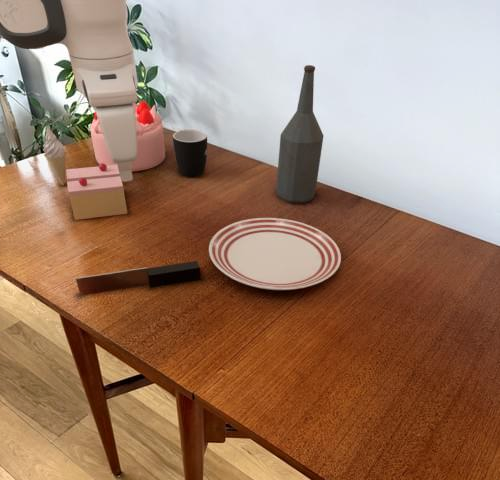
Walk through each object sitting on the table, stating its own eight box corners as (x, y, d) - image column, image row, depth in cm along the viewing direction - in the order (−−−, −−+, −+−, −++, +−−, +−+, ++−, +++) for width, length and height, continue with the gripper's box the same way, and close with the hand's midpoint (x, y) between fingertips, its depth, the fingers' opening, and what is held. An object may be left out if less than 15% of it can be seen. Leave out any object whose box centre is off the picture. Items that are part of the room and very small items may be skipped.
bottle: (281, 183, 125) (292, 58, 105) (317, 189, 123) (335, 62, 103) (272, 201, 118) (282, 69, 97) (310, 207, 116) (328, 74, 96)
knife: (80, 299, 87) (76, 282, 84) (80, 291, 88) (75, 274, 86) (200, 279, 92) (199, 263, 90) (197, 272, 94) (196, 256, 91)
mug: (211, 178, 126) (210, 140, 119) (178, 181, 124) (175, 143, 117) (202, 160, 134) (201, 124, 127) (171, 162, 132) (168, 126, 126)
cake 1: (75, 220, 108) (66, 184, 102) (72, 196, 116) (64, 162, 110) (127, 213, 111) (121, 178, 105) (121, 191, 119) (116, 157, 113)
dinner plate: (245, 217, 111) (245, 204, 109) (354, 247, 103) (357, 234, 101) (184, 276, 93) (183, 262, 91) (311, 319, 85) (314, 305, 83)
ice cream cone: (48, 185, 120) (32, 125, 109) (64, 179, 123) (50, 120, 112) (61, 191, 118) (45, 130, 107) (77, 184, 121) (63, 124, 110)
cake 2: (179, 159, 134) (175, 107, 125) (121, 179, 124) (112, 124, 114) (138, 139, 144) (132, 90, 134) (81, 157, 133) (70, 104, 123)
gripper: (78, 58, 73) (98, 145, 83) (88, 97, 59) (110, 197, 69) (119, 55, 75) (133, 141, 84) (137, 93, 61) (152, 191, 70)
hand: (123, 167), depth 77 cm, fingers open, 8 cm apart
